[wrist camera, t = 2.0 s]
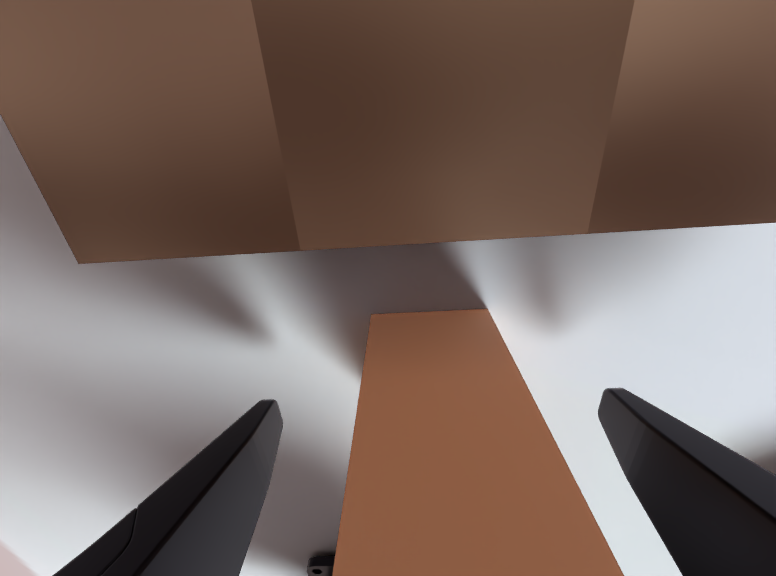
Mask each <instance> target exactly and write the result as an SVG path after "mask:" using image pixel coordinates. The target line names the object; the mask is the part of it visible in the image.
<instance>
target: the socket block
mask: <svg viewBox="0 0 776 576" xmlns="http://www.w3.org/2000/svg"><path fill="white" fill-rule="evenodd" d="M0 114H1V116H2V118H3V120H4V122H5V124H6V126H7V128H8V130H9V131H10V133H11V135H12V137H13V139H14V141H15V143H16V145H17V147H18V149H19V151H20V153H21V154H22V156H23V158H24V160H25V162H26V164H27V166H28V168H29V170H30V172H31V174H32V176H33V177H34V179H35V181H36V183H37V185H38V187H39V189H40V191H41V193H42V195H43V197H44V199H45V200H46V202H47V204H48V206H49V208H50V210H51V212H52V214H53V216H54V218H55V220H56V222H57V223H58V225H59V227H60V229H61V231H62V233H63V235H64V237H65V239H66V241H67V243H68V245H69V246H70V248H71V250H72V252H73V254H74V256H75V258H76V260H77V262H78V264H85V263H102V262H118V261H135V260H152V259H169V258H186V257H203V256H220V255H236V254H253V253H270V252H287V251H304V250H321V249H338V248H355V247H371V246H388V245H405V244H422V243H439V242H456V241H473V240H489V239H506V238H523V237H540V236H557V235H574V234H591V233H608V232H624V231H641V230H658V229H675V228H692V227H709V226H726V225H742V224H759V223H776V0H0Z"/></svg>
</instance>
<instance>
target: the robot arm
mask: <svg viewBox="0 0 776 576" xmlns="http://www.w3.org/2000/svg"><path fill="white" fill-rule="evenodd" d="M598 417H599V420H600V422H601V424H602V427H603V429H604V431H605V433H606V435H607V438H608V440H609V442H610V444H611V446H612V448H613V451H614V453H615V455H616V457H617V459H618V461H619V464H620V466H621V468H622V470H623V472H624V474H625V476H626V478H627V480H628V482H629V483H630V485H631V487H632V489H633V491H634V492H635V494H636V496H637V497H638V499H639V501H640V503H641V504H642V506H643V508H644V510H645V511H646V513H647V515H648V516H649V518H650V520H651V522H652V523H653V525H654V527H655V529H656V530H657V532H658V534H659V535H660V537H661V539H662V541H663V542H664V544H665V546H666V548H667V549H668V551H669V553H670V554H671V556H672V558H673V560H674V561H675V563H676V565H677V567H678V568H679V570H680V572H681V573H682V575H683V576H776V475H775V474H773V473H771V472H769V471H768V470H766V469H764V468H762V467H761V466H759V465H757V464H755V463H754V462H752V461H750V460H748V459H746V458H745V457H743V456H741V455H739V454H738V453H736V452H734V451H732V450H731V449H729V448H727V447H725V446H724V445H722V444H720V443H718V442H717V441H715V440H713V439H711V438H710V437H708V436H706V435H704V434H703V433H701V432H699V431H697V430H696V429H694V428H692V427H690V426H689V425H687V424H685V423H683V422H682V421H680V420H678V419H676V418H675V417H673V416H671V415H669V414H668V413H666V412H664V411H662V410H661V409H659V408H657V407H655V406H654V405H652V404H650V403H648V402H647V401H645V400H643V399H641V398H640V397H638V396H636V395H634V394H632V393H631V392H629V391H627V390H625V389H623V388H607V389H605V390H604V392H603V395H602V398H601V402H600V405H599V409H598ZM282 427H283V420H282V417H281V413H280V410H279V406H278V403H277V401H276V400H274V399H268V400H261V401H259V402H258V403H257V404H255V405H254V406H253V407H252V408H251V409H250V410H248V411H247V412H246V413H245V414H244V415H243V416H241V417H240V418H239V419H238V420H237V421H236V422H235V423H233V424H232V425H231V426H230V427H229V428H228V429H226V430H225V431H224V432H223V433H222V434H221V435H219V436H218V437H217V438H216V439H215V440H214V441H212V442H211V443H210V444H209V445H208V446H207V447H205V448H204V449H203V450H202V451H201V452H200V453H199V454H197V455H196V456H195V457H194V458H193V459H192V460H190V461H189V462H188V463H187V464H186V465H185V466H183V467H182V468H181V469H180V470H179V471H178V472H176V473H175V474H174V475H173V476H172V477H171V478H169V479H168V480H167V481H166V482H165V483H164V484H163V485H161V486H160V487H159V488H158V489H157V490H156V491H154V492H153V493H152V494H151V495H150V496H149V497H147V498H146V499H145V500H144V501H143V502H142V503H140V504H139V505H138V507H137V508H135V509H133V510H132V511H131V512H130V513H129V514H127V515H126V516H125V517H124V518H123V519H122V520H121V521H119V522H118V523H117V524H116V525H115V526H113V527H112V528H111V529H110V530H109V531H107V532H106V533H105V534H104V535H103V536H101V537H100V538H99V539H98V540H97V541H95V542H94V543H93V544H92V545H91V546H89V547H88V548H87V549H86V550H84V551H83V552H82V553H81V554H79V555H78V556H77V557H76V558H74V559H73V560H72V561H71V562H69V563H68V564H67V565H66V566H64V567H63V568H62V569H60V570H59V571H58V572H57V573H55V574H54V575H53V576H239V574H240V571H241V568H242V565H243V562H244V559H245V556H246V553H247V550H248V547H249V544H250V541H251V538H252V535H253V532H254V529H255V526H256V523H257V520H258V517H259V514H260V511H261V508H262V505H263V502H264V499H265V496H266V493H267V490H268V487H269V484H270V480H271V476H272V472H273V467H274V463H275V459H276V454H277V450H278V445H279V441H280V437H281V432H282ZM334 561H335V556H316V557H312V558H310V559H309V563H308V567H307V573H308V576H332V574H333V567H334Z"/></svg>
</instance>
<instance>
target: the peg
mask: <svg viewBox="0 0 776 576" xmlns="http://www.w3.org/2000/svg"><path fill="white" fill-rule="evenodd" d="M332 576H624V575H623V573H622V571H621V569H620V567H619V565H618V563H617V561H616V559H615V557H614V555H613V553H612V551H611V549H610V547H609V545H608V543H607V541H606V539H605V538H604V536H603V534H602V532H601V530H600V528H599V526H598V524H597V522H596V520H595V518H594V516H593V514H592V512H591V510H590V508H589V506H588V504H587V502H586V500H585V498H584V496H583V495H582V493H581V491H580V489H579V487H578V485H577V483H576V481H575V479H574V477H573V475H572V473H571V471H570V469H569V467H568V465H567V463H566V461H565V459H564V457H563V455H562V453H561V452H560V450H559V448H558V446H557V444H556V442H555V440H554V438H553V436H552V434H551V432H550V430H549V428H548V426H547V424H546V422H545V420H544V418H543V416H542V414H541V412H540V410H539V409H538V407H537V405H536V403H535V401H534V399H533V397H532V395H531V393H530V391H529V389H528V387H527V385H526V383H525V381H524V379H523V377H522V375H521V373H520V371H519V369H518V367H517V365H516V364H515V362H514V360H513V358H512V356H511V354H510V352H509V350H508V348H507V346H506V344H505V342H504V340H503V338H502V336H501V334H500V332H499V330H498V328H497V326H496V324H495V322H494V321H493V319H492V317H491V315H490V313H489V311H488V309H471V310H449V311H428V312H407V313H386V314H371V319H370V326H369V332H368V339H367V346H366V352H365V359H364V366H363V373H362V379H361V386H360V393H359V399H358V406H357V413H356V420H355V426H354V433H353V440H352V446H351V453H350V460H349V467H348V473H347V480H346V487H345V493H344V500H343V507H342V514H341V520H340V527H339V534H338V540H337V547H336V554H335V561H334V567H333V574H332Z"/></svg>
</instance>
